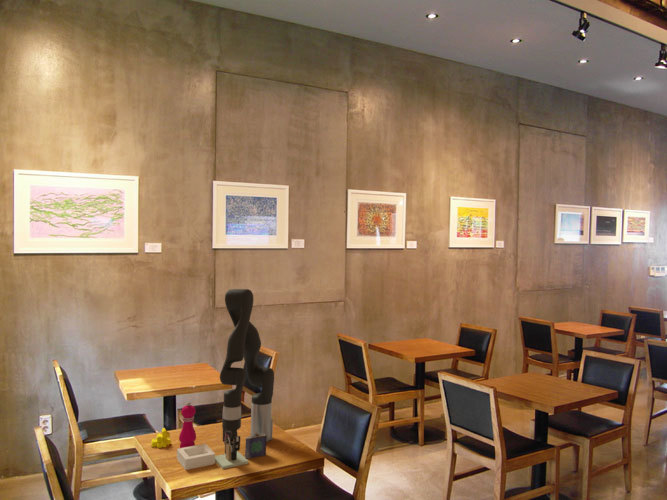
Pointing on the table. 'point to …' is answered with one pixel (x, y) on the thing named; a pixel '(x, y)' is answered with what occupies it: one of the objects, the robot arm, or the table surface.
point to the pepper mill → (187, 426)
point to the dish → (195, 456)
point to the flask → (255, 445)
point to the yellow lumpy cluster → (161, 439)
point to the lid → (226, 461)
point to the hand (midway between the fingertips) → (230, 456)
